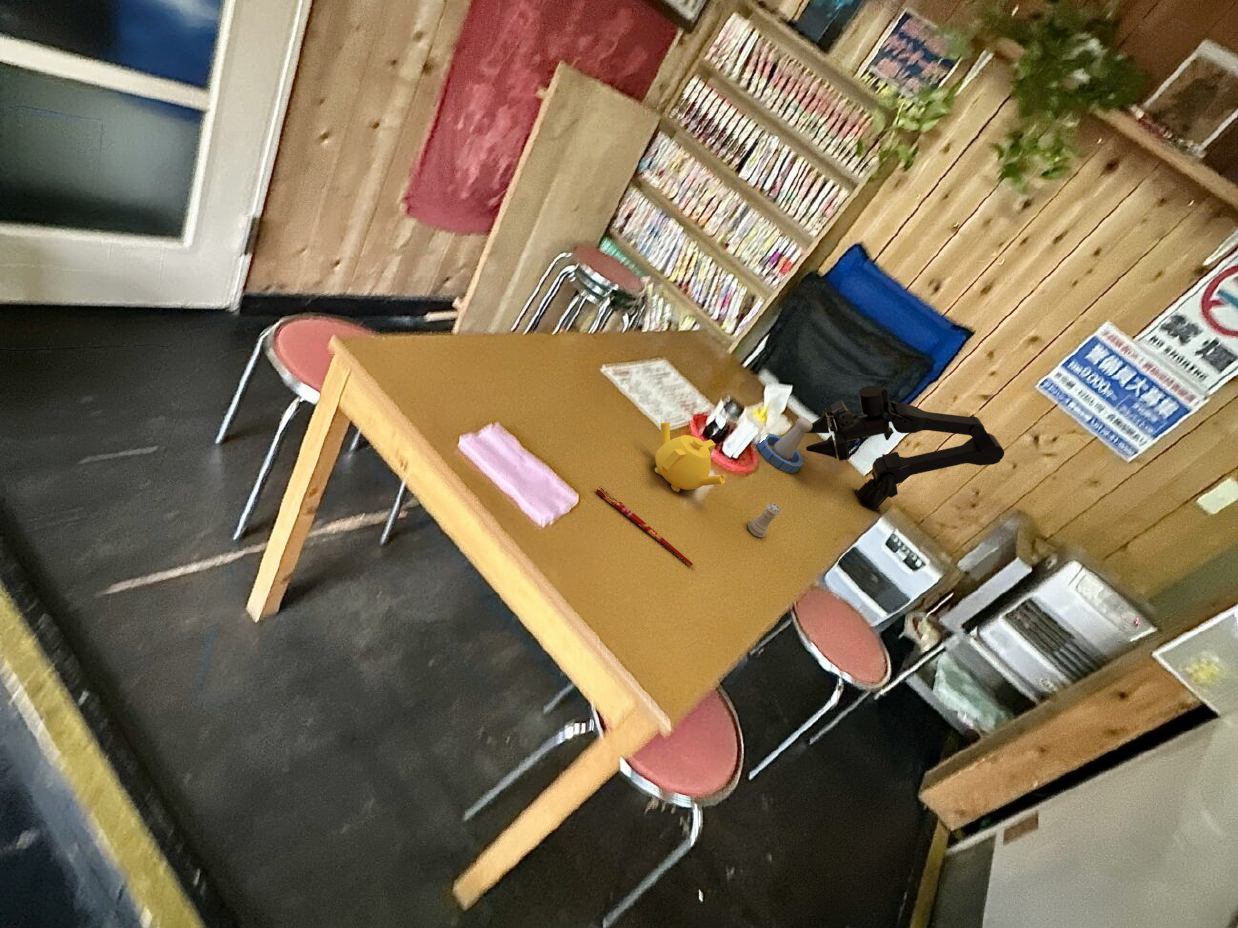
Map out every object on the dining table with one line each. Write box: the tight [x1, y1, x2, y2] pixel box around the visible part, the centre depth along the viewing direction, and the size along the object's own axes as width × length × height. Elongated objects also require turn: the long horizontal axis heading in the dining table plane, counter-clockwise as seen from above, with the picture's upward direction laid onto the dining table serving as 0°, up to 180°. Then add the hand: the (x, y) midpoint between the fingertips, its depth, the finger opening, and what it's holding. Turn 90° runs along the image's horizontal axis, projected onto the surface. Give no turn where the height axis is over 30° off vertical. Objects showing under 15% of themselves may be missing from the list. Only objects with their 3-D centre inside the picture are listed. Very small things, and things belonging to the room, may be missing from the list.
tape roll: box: [757, 433, 804, 474], centre depth 202 cm, size 13×13×2 cm
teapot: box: [654, 422, 726, 493], centre depth 165 cm, size 20×18×11 cm
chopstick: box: [595, 486, 694, 567], centre depth 148 cm, size 2×24×1 cm, turn 61°
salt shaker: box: [772, 416, 813, 461], centre depth 199 cm, size 6×6×13 cm
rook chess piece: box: [747, 502, 781, 538], centre depth 166 cm, size 4×4×8 cm
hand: (804, 439), depth 199 cm, fingers open, 9 cm apart
